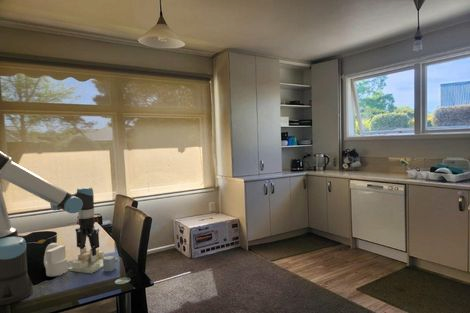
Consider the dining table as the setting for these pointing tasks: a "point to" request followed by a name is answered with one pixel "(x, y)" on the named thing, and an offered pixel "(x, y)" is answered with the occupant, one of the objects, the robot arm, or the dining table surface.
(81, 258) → the fuselage bar
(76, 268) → the jig
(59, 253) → the cylinder with rectangular tab
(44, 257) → the figurine
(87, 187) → the robot arm
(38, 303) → the dining table surface
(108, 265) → the tail block
